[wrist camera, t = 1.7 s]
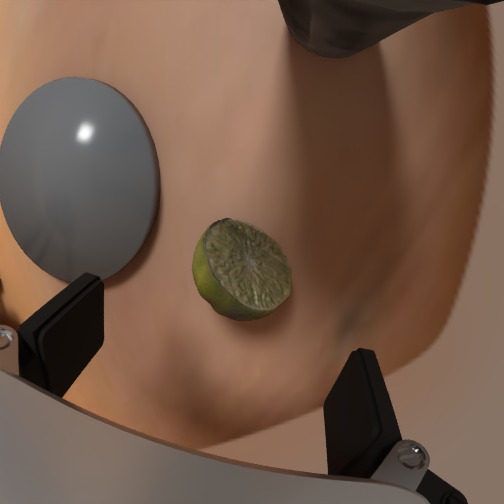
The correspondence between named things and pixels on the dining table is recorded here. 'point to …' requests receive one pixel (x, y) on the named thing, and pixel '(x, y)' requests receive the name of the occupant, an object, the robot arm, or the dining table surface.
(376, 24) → the beverage cup
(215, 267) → the lime
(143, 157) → the slate plate
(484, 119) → the dining table surface
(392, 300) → the dining table surface
